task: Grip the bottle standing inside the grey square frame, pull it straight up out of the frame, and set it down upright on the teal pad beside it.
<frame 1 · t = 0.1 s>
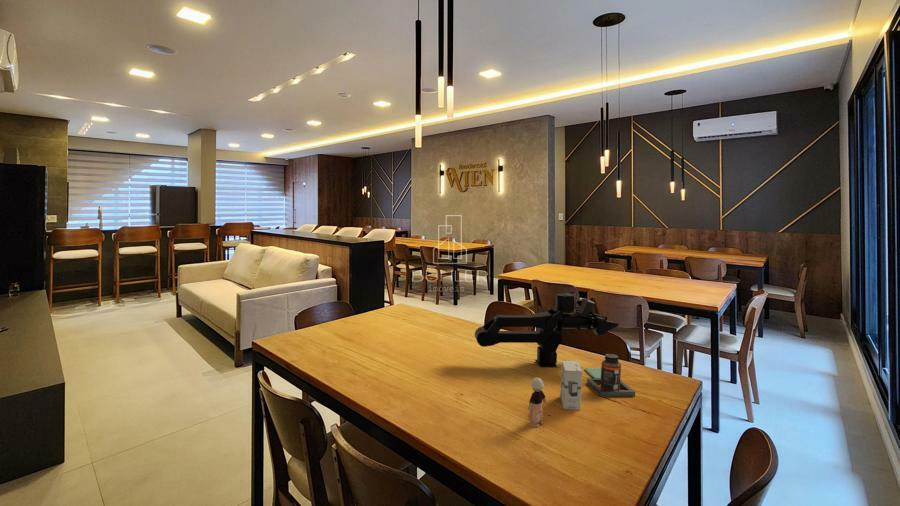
hand: (612, 321, 157), 17 cm above the table, tool horizontal, fingers open, 9 cm apart
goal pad: (601, 374, 147), on the table
supplement bottle: (609, 389, 134), resting in grey square frame
ink box: (569, 404, 124), on the table
grandmother figurine: (535, 424, 111), on the table
grey square frame: (609, 389, 134), on the table
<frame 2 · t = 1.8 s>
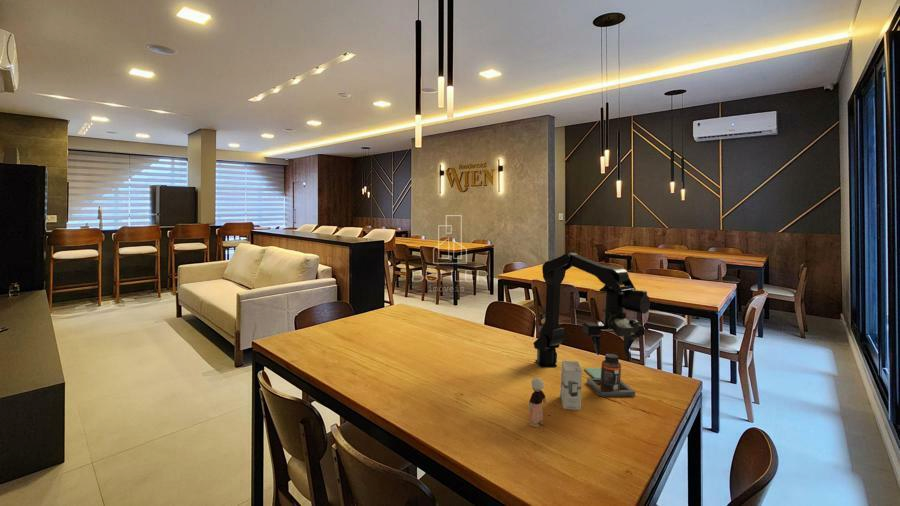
hand: (611, 354, 133), 12 cm above the table, tool pointing down, fingers open, 9 cm apart
nothing on the table moved.
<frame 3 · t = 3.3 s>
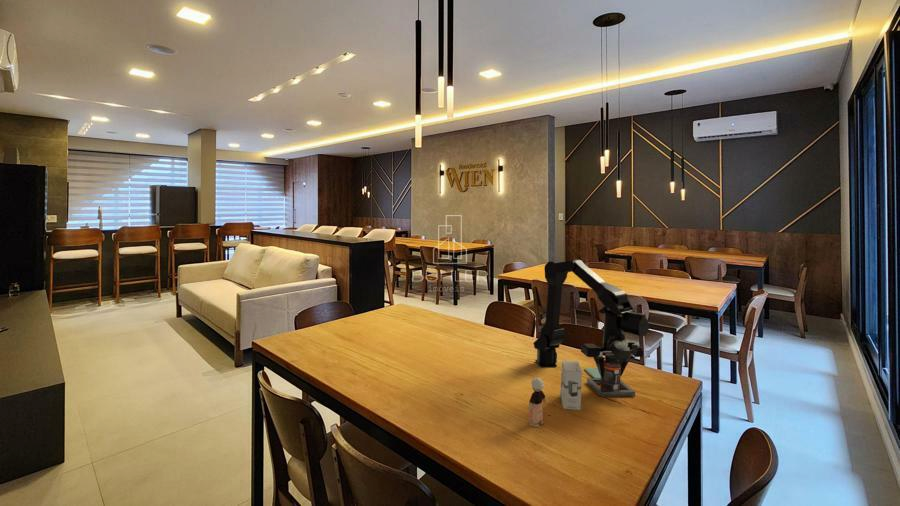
hand: (610, 375, 134), 5 cm above the table, tool pointing down, fingers closed on supplement bottle, 6 cm apart
supplement bottle: (609, 389, 134), resting in grey square frame, touching gripper
everything else where it was.
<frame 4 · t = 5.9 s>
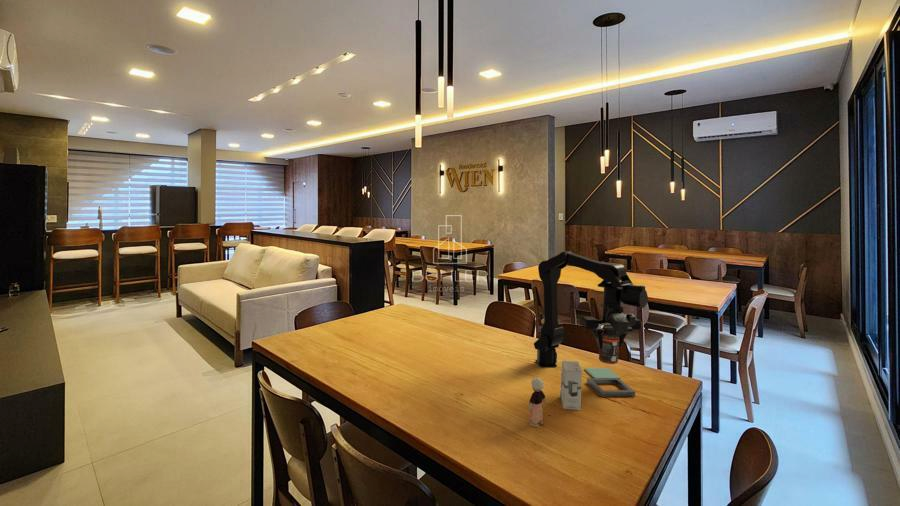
hand: (609, 348, 137), 13 cm above the table, tool pointing down, fingers closed on supplement bottle, 6 cm apart
supplement bottle: (608, 362, 137), point 8 cm above the table, touching gripper
everything else where it was.
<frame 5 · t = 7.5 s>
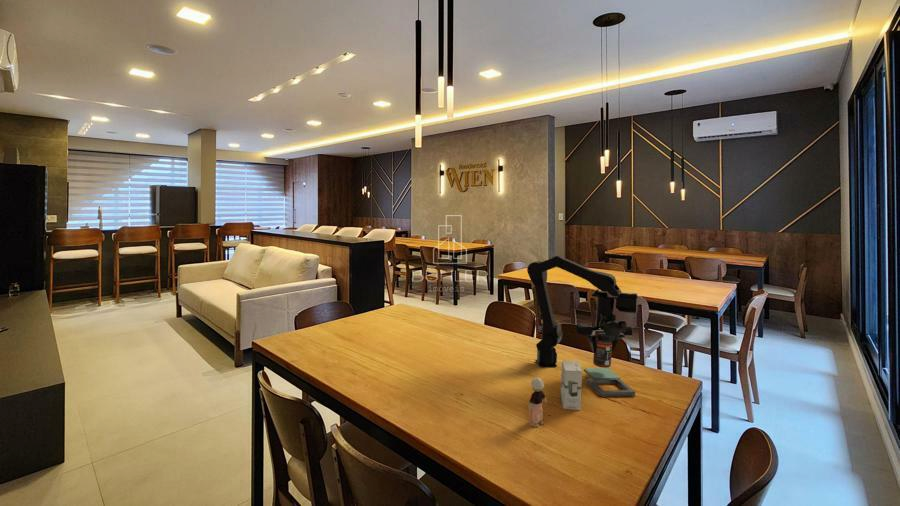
hand: (602, 352, 146), 8 cm above the table, tool pointing down, fingers closed on supplement bottle, 6 cm apart
supplement bottle: (601, 365, 147), point 3 cm above the table, touching gripper
everything else where it was.
when the fingers open (6 cm above the table, at t = 8.6 s): supplement bottle drops 1 cm, resting on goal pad.
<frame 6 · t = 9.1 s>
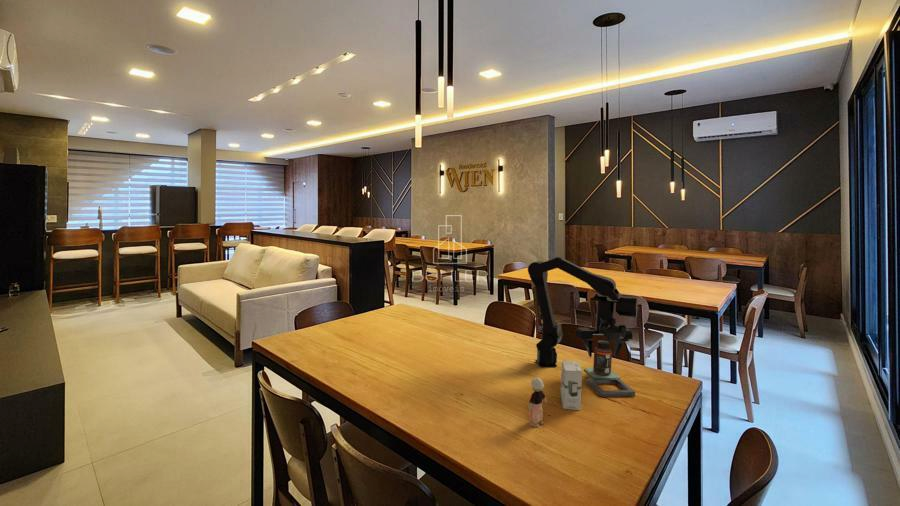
hand: (602, 356, 146), 6 cm above the table, tool pointing down, fingers open, 9 cm apart
supplement bottle: (601, 373, 147), resting on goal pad
everything else where it was.
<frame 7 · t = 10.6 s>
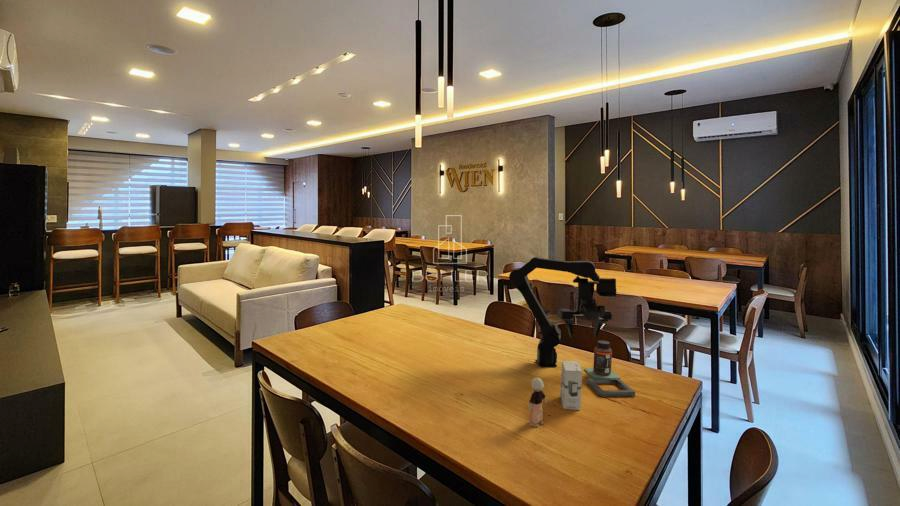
hand: (583, 337, 151), 12 cm above the table, tool pointing down, fingers open, 9 cm apart
nothing on the table moved.
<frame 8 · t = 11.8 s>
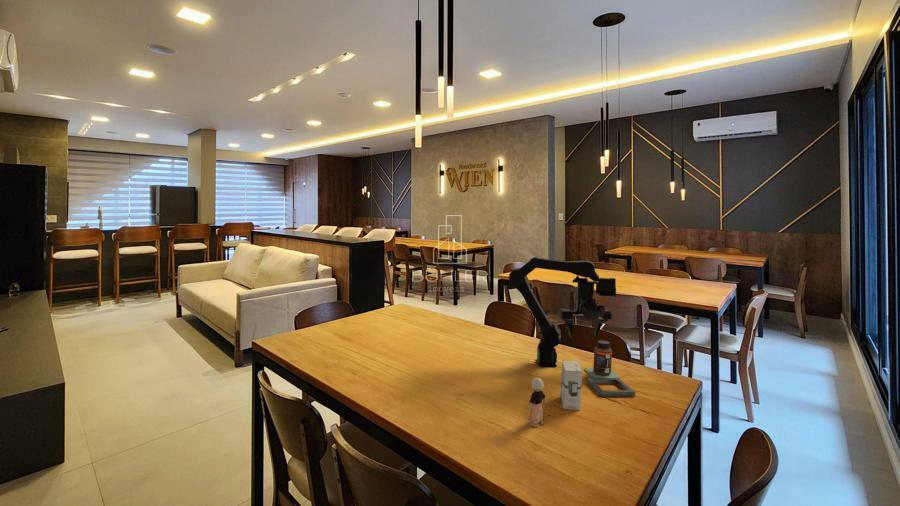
hand: (583, 336, 152), 12 cm above the table, tool pointing down, fingers open, 9 cm apart
nothing on the table moved.
at the end: supplement bottle inside the target area on the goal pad (0.0 cm from its centre), point 0.4 cm above the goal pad's base; supplement bottle tilted 0°; supplement bottle touching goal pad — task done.
